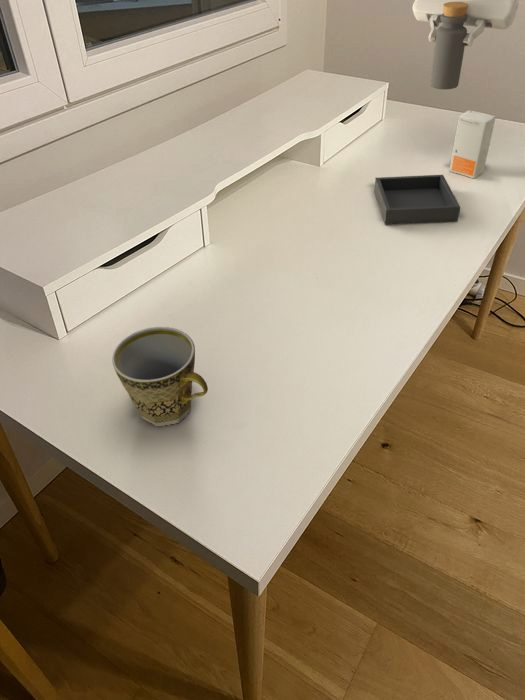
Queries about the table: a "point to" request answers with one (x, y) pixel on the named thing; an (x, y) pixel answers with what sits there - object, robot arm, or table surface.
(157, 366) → the ceramic cup
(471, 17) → the robot arm
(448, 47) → the bottle
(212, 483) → the table surface
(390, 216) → the tray
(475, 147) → the cosmetic box
